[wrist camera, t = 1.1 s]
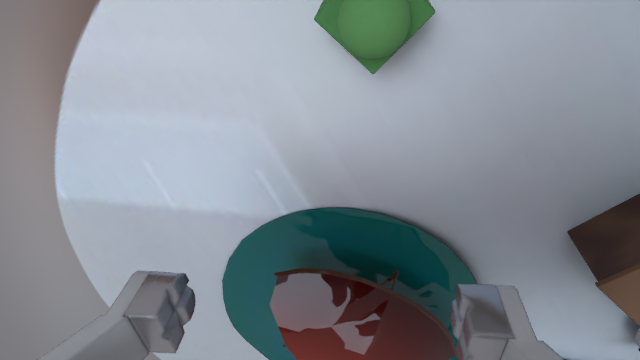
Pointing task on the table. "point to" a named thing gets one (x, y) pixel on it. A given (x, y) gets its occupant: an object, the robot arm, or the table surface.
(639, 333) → the robot toy
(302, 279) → the boat on round base
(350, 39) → the green toy
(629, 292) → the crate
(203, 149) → the table surface
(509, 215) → the table surface
